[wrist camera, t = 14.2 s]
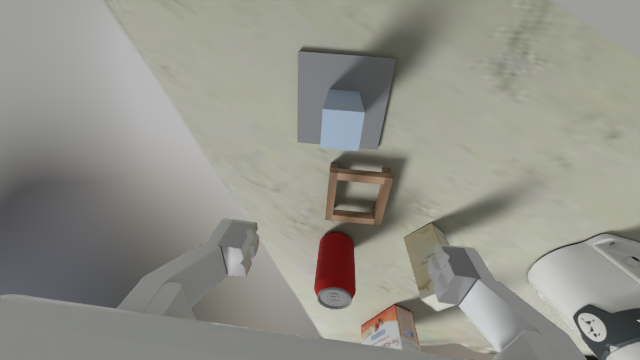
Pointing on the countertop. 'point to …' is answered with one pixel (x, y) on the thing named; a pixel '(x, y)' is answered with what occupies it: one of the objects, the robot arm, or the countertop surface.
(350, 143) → the peg
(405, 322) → the cracker box
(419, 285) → the skincare box
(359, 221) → the wooden square frame
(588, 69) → the countertop surface
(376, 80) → the mat
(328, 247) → the beverage can
